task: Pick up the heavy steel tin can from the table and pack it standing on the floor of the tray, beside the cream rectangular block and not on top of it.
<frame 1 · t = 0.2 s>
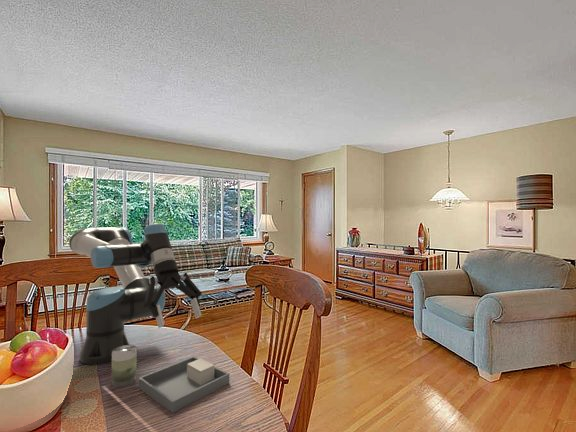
hand: (181, 321, 101), 15 cm above the table, fingers open, 13 cm apart
tray: (184, 388, 88), on the table
tin can: (124, 383, 91), on the table
cream rectangular block: (200, 377, 93), point 1 cm above the table, touching tray
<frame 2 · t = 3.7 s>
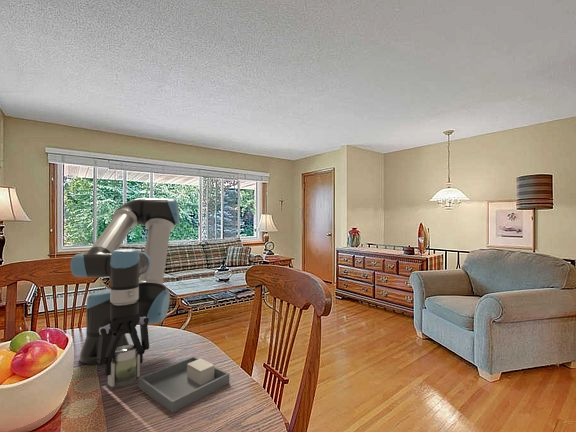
hand: (124, 379, 91), 1 cm above the table, fingers closed on tin can, 6 cm apart
tin can: (124, 383, 91), on the table, touching gripper
everything else where it was.
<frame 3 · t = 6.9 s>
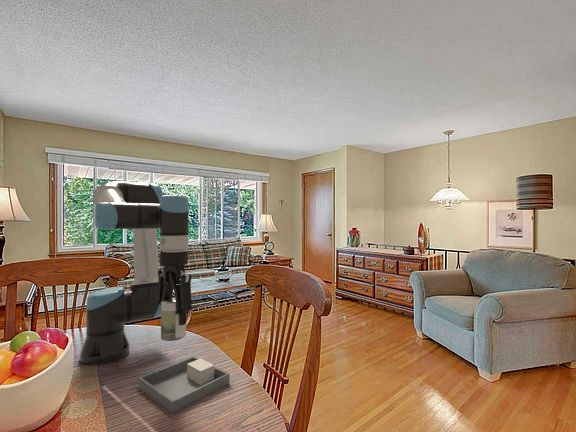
hand: (173, 332, 86), 17 cm above the table, fingers closed on tin can, 6 cm apart
tin can: (173, 336, 86), point 16 cm above the table, touching gripper
everything else where it was.
when the fingers open (3 cm above the table, at t = 10.1 s): tin can drops 1 cm, resting on tray.
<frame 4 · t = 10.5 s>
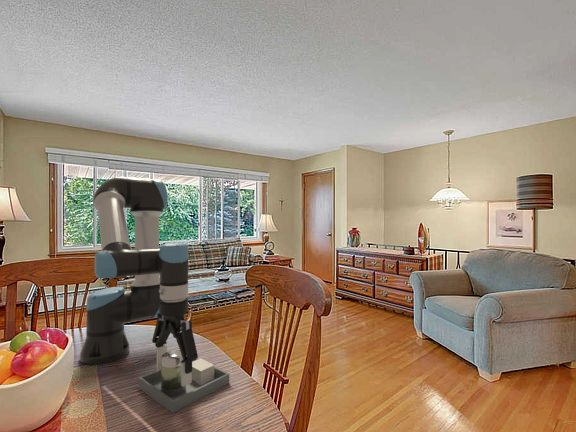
hand: (173, 376, 86), 5 cm above the table, fingers open, 12 cm apart
tin can: (173, 390, 86), point 1 cm above the table, touching tray
everything else where it was.
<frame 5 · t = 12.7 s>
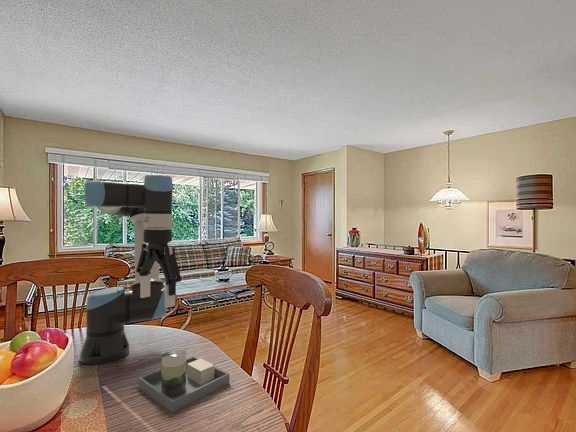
hand: (157, 301, 89), 25 cm above the table, fingers open, 13 cm apart
nothing on the table moved.
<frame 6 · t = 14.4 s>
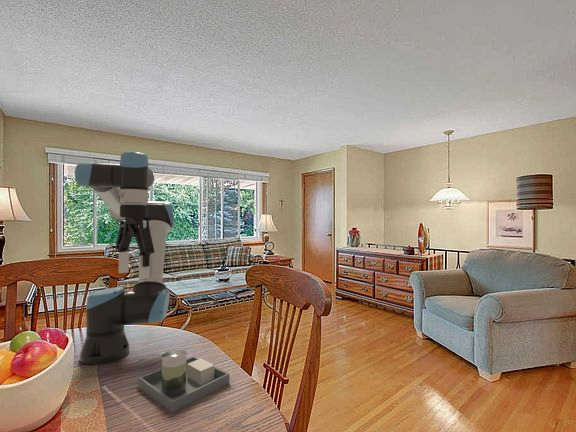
hand: (133, 275, 92), 32 cm above the table, fingers open, 13 cm apart
nothing on the table moved.
at the end: tin can inside the target area on the tray (0.3 cm from its centre), point 0.8 cm above the tray's base; tin can tilted 1°; cream rectangular block moved 0.1 cm from its start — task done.
